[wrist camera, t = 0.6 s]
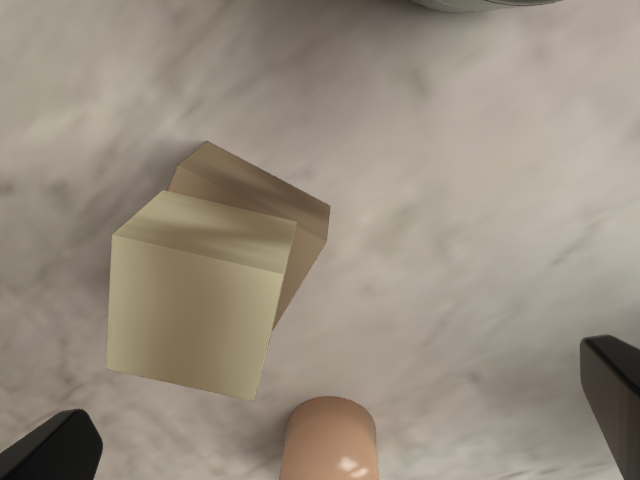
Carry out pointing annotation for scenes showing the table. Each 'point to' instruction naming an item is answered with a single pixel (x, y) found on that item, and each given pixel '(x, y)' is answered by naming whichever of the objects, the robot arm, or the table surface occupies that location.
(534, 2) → the supplement bottle
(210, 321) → the oak block
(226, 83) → the table surface
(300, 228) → the walnut block
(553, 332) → the table surface
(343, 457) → the peach cylinder
